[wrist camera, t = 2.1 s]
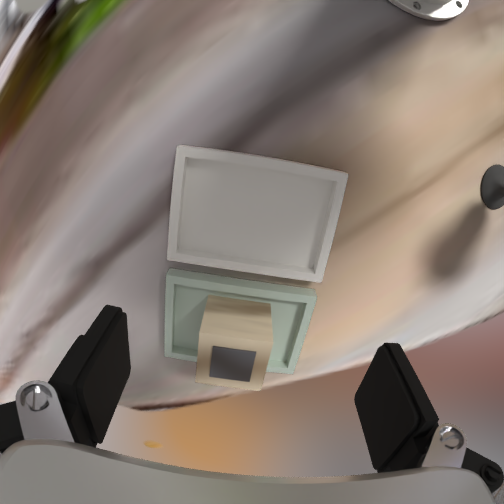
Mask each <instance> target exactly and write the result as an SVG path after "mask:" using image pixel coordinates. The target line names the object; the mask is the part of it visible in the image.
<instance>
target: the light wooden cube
mask: <svg viewBox="0 0 504 504" xmlns="http://www.w3.org/2000/svg"><path fill="white" fill-rule="evenodd" d="M272 346H273V329H272V316H271V304H270V303H263V302H255V301H248V300H241V299H234V298H228V297H221V296H214V295H208V299H207V303H206V307H205V311H204V315H203V319H202V323H201V327H200V332H199V342H198V354H197V367H196V380H195V382H196V383H202V384H209V385H216V386H223V387H230V388H238V389H247V390H256V391H261V387H262V384H263V380H264V376H265V373H266V369H267V365H268V361H269V358H270V354H271V350H272Z"/></svg>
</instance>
